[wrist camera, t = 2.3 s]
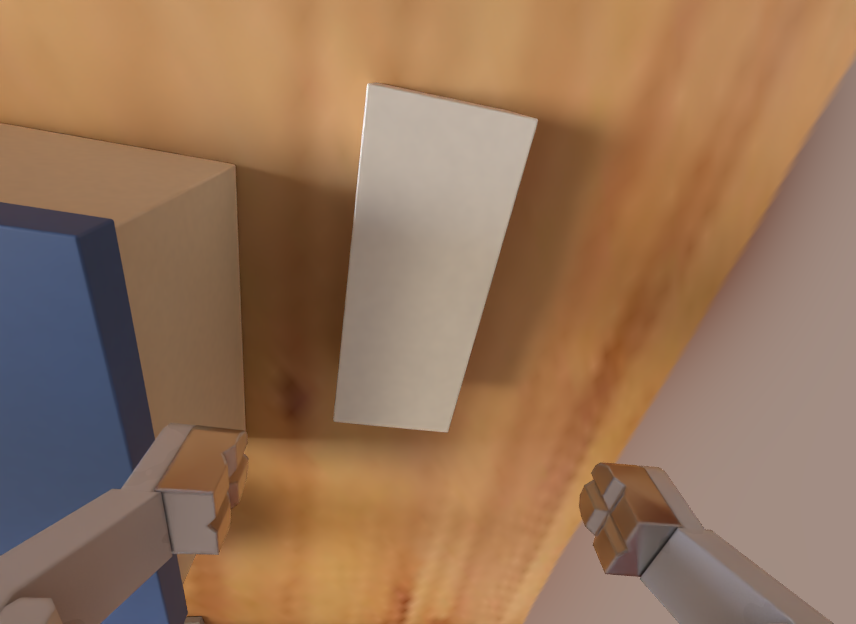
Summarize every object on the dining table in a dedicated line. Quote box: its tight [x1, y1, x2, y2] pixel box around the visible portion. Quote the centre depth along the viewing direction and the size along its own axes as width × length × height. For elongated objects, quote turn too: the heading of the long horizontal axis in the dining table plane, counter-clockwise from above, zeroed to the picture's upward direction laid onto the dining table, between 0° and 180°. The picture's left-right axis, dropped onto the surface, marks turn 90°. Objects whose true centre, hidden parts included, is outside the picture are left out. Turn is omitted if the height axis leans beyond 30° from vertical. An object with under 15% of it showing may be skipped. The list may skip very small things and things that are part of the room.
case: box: [333, 83, 538, 433], centre depth 18 cm, size 14×6×4 cm, turn 169°
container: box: [0, 123, 246, 624], centre depth 15 cm, size 17×13×10 cm
